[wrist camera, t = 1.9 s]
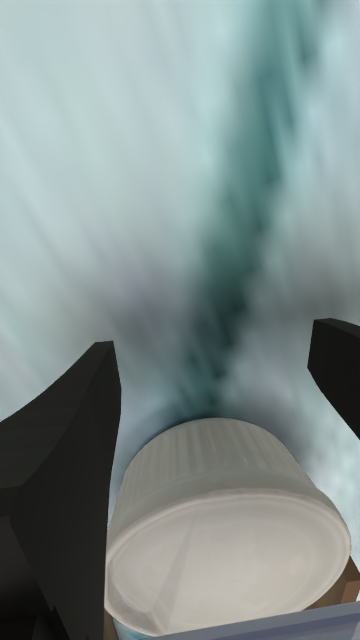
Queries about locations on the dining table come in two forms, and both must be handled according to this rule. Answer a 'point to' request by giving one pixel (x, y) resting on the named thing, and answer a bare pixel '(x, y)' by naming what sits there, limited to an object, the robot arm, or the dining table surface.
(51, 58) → the dining table surface
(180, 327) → the dining table surface
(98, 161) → the dining table surface
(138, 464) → the ramekin
